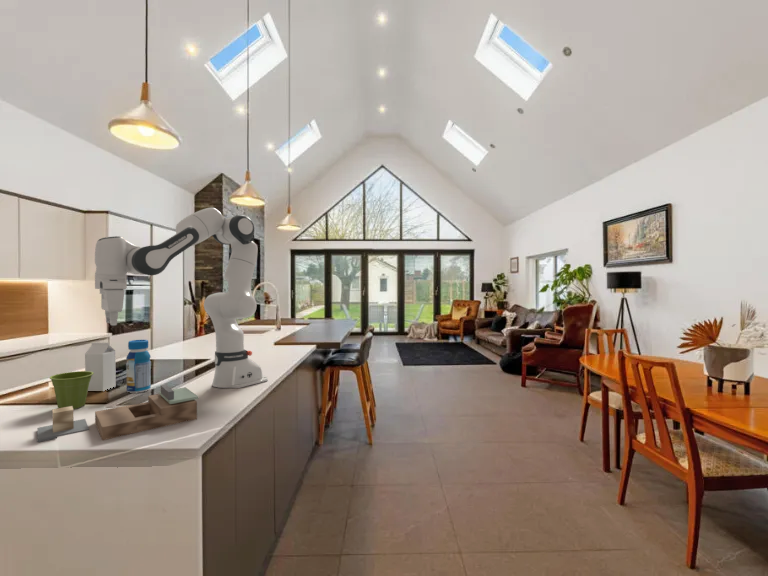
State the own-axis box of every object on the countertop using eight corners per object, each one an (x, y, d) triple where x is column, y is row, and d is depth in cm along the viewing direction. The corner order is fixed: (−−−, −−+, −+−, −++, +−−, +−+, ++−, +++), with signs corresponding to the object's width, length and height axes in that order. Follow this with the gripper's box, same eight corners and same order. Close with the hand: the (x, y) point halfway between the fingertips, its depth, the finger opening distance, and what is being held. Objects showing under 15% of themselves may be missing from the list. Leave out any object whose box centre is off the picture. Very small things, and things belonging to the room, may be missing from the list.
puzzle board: (181, 407, 132) (181, 390, 132) (196, 420, 119) (196, 401, 119) (95, 424, 116) (95, 405, 116) (102, 442, 103) (102, 420, 103)
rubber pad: (85, 421, 118) (85, 418, 118) (88, 431, 110) (88, 428, 110) (37, 430, 111) (37, 427, 111) (37, 442, 103) (37, 439, 103)
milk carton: (102, 392, 150) (102, 344, 149) (85, 392, 150) (84, 344, 149) (115, 387, 157) (115, 341, 156) (98, 387, 157) (98, 341, 157)
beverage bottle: (146, 392, 149) (146, 342, 148) (122, 394, 147) (121, 342, 146) (154, 387, 157) (153, 338, 157) (131, 388, 155) (130, 339, 155)
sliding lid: (185, 389, 131) (185, 380, 131) (198, 398, 121) (198, 388, 121) (159, 394, 126) (159, 384, 126) (170, 404, 116) (170, 393, 115)
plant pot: (66, 414, 124) (66, 380, 124) (40, 411, 128) (40, 377, 127) (102, 403, 136) (101, 372, 136) (77, 400, 139) (77, 369, 139)
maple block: (72, 424, 114) (72, 405, 114) (73, 428, 110) (73, 409, 110) (52, 428, 111) (52, 409, 111) (53, 432, 107) (52, 413, 107)
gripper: (96, 283, 135) (96, 322, 135) (103, 283, 120) (103, 327, 120) (117, 283, 139) (117, 321, 140) (127, 283, 124) (127, 325, 125)
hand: (111, 324), depth 130 cm, fingers open, 8 cm apart
